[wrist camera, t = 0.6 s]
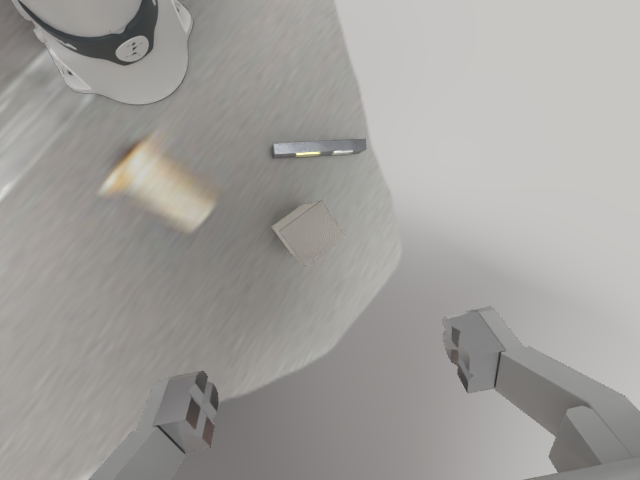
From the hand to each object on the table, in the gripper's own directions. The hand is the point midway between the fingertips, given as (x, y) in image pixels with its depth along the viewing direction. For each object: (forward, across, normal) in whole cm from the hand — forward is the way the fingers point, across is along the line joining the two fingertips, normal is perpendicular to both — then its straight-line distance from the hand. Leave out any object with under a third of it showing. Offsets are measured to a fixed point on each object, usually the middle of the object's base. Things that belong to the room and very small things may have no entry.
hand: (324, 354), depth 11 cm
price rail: (+43, -2, +7) cm, 43 cm away
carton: (+37, +4, +16) cm, 40 cm away
